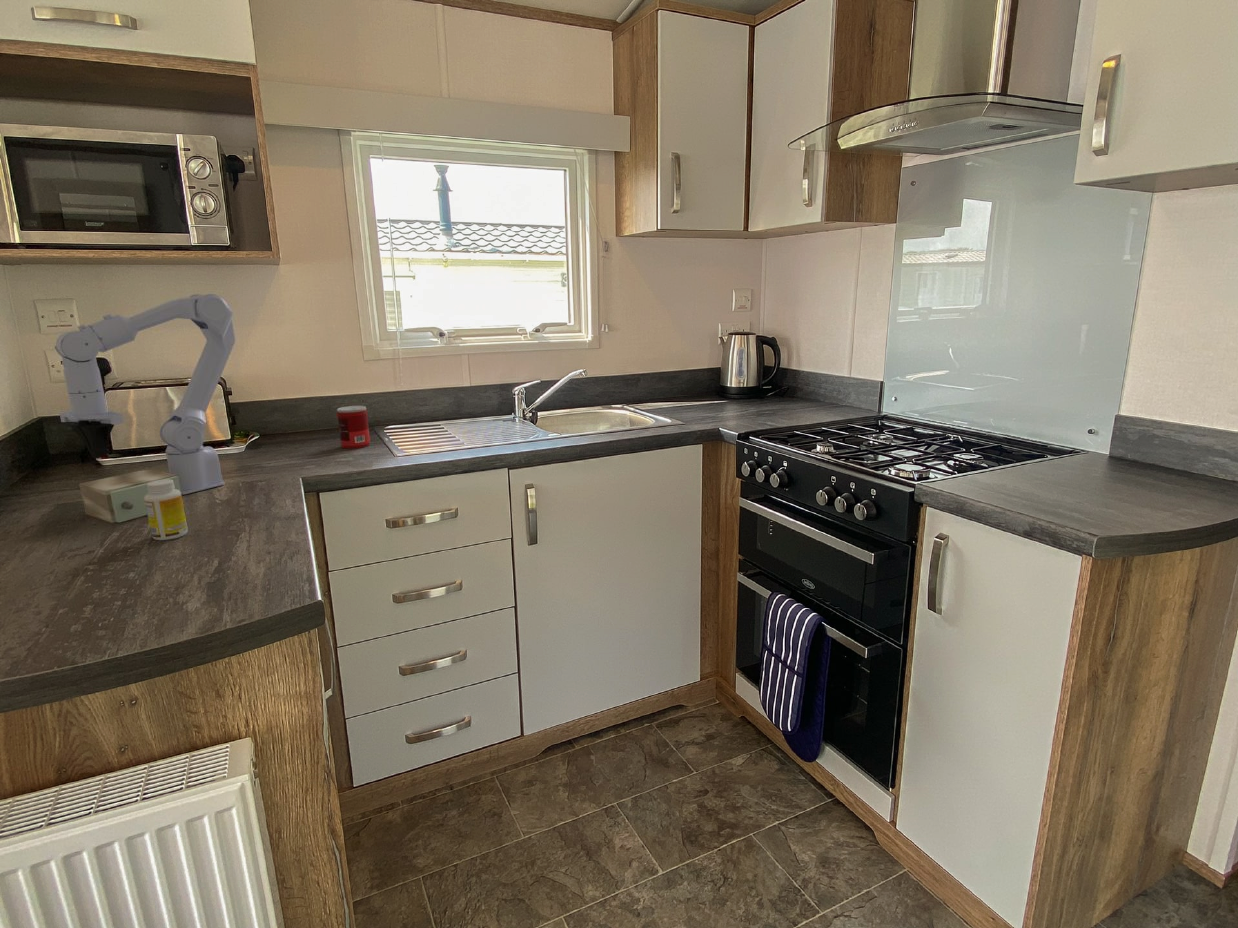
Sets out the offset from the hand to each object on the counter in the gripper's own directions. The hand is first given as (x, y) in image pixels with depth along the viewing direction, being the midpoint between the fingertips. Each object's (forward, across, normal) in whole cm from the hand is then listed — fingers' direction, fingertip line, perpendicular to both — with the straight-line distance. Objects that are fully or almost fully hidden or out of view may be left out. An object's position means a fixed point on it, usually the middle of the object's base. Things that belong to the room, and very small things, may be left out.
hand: (99, 457), depth 141 cm
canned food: (+10, +16, +60) cm, 63 cm away
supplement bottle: (+11, +30, -12) cm, 34 cm away
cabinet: (+10, +8, -1) cm, 13 cm away
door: (+10, +15, -3) cm, 18 cm away
